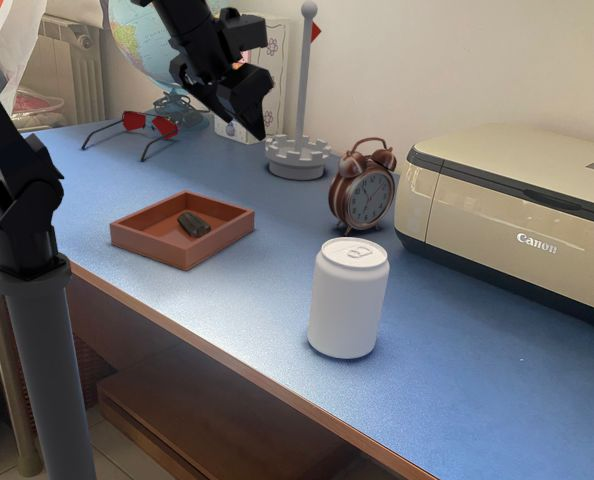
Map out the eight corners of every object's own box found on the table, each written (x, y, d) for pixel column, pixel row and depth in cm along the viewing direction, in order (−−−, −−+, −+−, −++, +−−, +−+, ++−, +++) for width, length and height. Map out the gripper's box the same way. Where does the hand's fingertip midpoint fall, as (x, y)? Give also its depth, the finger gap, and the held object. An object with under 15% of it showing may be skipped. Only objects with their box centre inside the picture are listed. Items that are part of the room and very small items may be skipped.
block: (194, 220, 94) (194, 209, 93) (213, 234, 90) (214, 223, 89) (174, 224, 92) (173, 213, 91) (193, 239, 88) (193, 228, 87)
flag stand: (307, 186, 112) (324, 6, 95) (251, 170, 117) (258, -4, 100) (339, 170, 122) (360, 3, 104) (286, 155, 127) (297, -6, 109)
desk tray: (186, 271, 81) (185, 249, 79) (111, 244, 86) (109, 223, 84) (254, 230, 94) (254, 210, 92) (185, 208, 99) (185, 189, 97)
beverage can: (292, 339, 70) (301, 247, 63) (338, 317, 75) (350, 229, 68) (343, 371, 65) (358, 276, 58) (388, 346, 70) (407, 255, 63)
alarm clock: (339, 240, 94) (352, 145, 85) (322, 228, 97) (332, 135, 88) (390, 229, 99) (408, 138, 90) (372, 218, 102) (387, 130, 93)
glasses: (181, 141, 129) (180, 117, 126) (142, 161, 116) (141, 136, 113) (124, 130, 132) (122, 107, 129) (81, 149, 119) (77, 124, 116)
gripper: (281, -9, 65) (327, 111, 77) (206, -25, 78) (255, 81, 89) (204, 51, 64) (263, 164, 76) (140, 25, 76) (199, 125, 88)
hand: (245, 129), depth 82 cm, fingers open, 9 cm apart
